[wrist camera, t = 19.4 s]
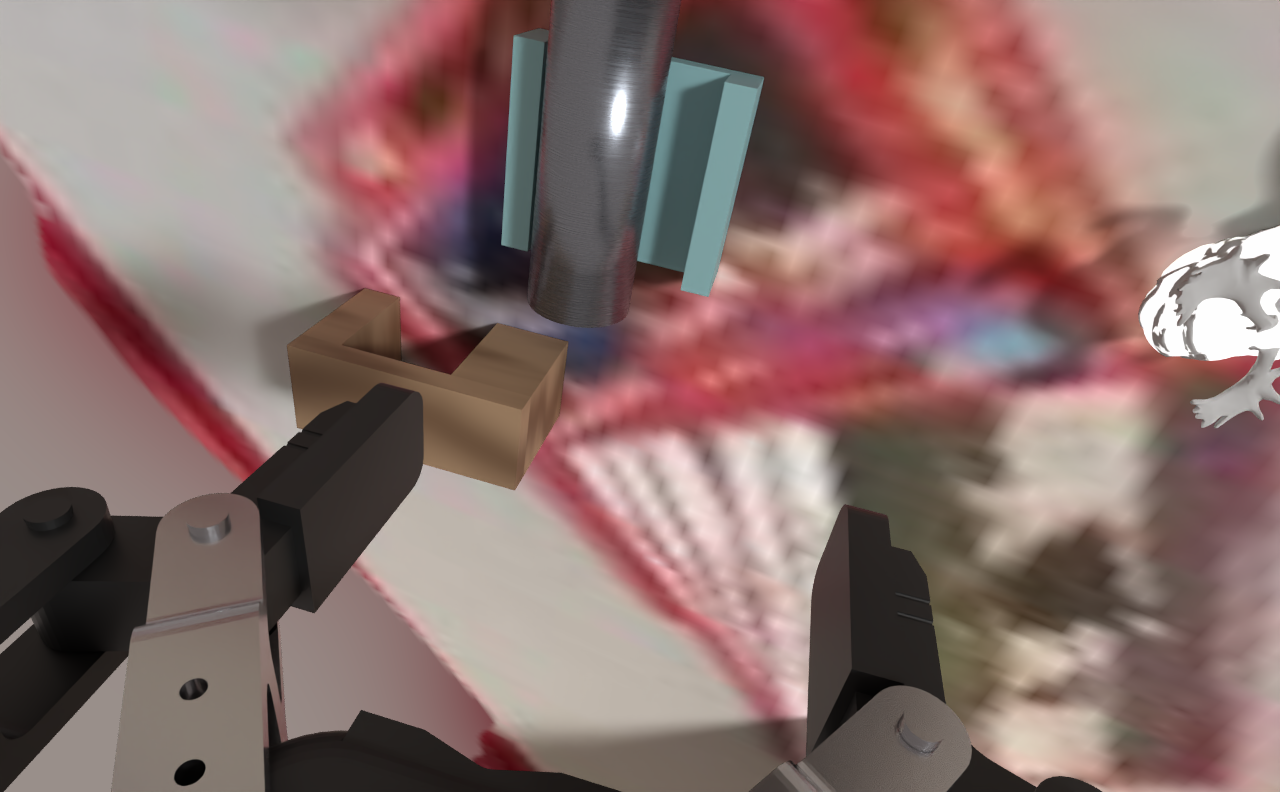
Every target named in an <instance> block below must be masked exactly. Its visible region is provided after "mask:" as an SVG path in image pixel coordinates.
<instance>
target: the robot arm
mask: <svg viewBox="0 0 1280 792" xmlns="http://www.w3.org/2000/svg"><path fill="white" fill-rule="evenodd" d="M423 460H424V432H423V399H422V396H421V394H420V393H419V392H416V391H413V390H409V389H405V388H401V387H397V386H393V385H390V384H386V383H378V384H377V385H375V386H374V387H373V388H372V389H371V390H370V391H369V392H368V393H367V394H366V395H365V396H363V397H362V398H361V399H360V400H359V401H358V402H357V403H354V402H350V401H345V402H343V403H341V404H339V405H336V406H334V407H332V408H330V409H328V410H325V411H323V412H321V413H320V414H319V415H317V416H316V417H315V418H314V419H313V420H312V421H311V422H310V423H309V424H307V425H306V426H305V427H304V428H303V430H302V432H301V433H300V432H298V433H297V434H296V435H295V436H294V437H293V438H292V439H291V440H290V441H288V444H287V446H283V447H282V448H281V449H279V450H278V451H277V452H276V453H275V454H274V455H273V456H272V457H271V458H269V459H268V460H267V461H266V462H265V463H264V464H263V465H262V466H261V467H259V468H258V469H257V470H256V471H255V472H254V473H253V474H252V475H250V476H249V477H248V478H247V479H246V480H245V481H244V482H243V483H242V484H240V485H239V486H238V487H237V488H236V489H235V490H234V491H233V492H232V493H216V494H215V493H214V494H208V495H202V496H199V497H195V498H192V499H190V500H187V501H185V502H183V503H181V504H179V505H177V506H176V507H174V508H173V509H171V510H170V511H169V512H168V513H167V514H166V515H165V516H164V517H145V516H143V517H142V516H110V513H109V510H108V507H107V504H106V501H105V499H104V498H103V497H102V496H101V495H100V494H99V493H97V492H95V491H93V490H90V489H85V488H79V487H66V488H56V489H51V490H46V491H42V492H39V493H36V494H33V495H30V496H28V497H25V498H23V499H21V500H19V501H17V502H15V503H14V504H12V505H11V506H9V507H8V508H6V509H5V510H3V511H2V512H1V513H0V644H2V643H3V642H4V641H5V640H6V639H7V638H8V637H9V636H10V635H11V634H13V633H14V632H15V631H16V630H17V629H18V628H19V627H20V626H21V625H23V624H24V623H25V622H26V621H27V620H28V619H29V618H32V621H33V623H34V624H33V625H32V626H31V627H30V628H29V629H28V630H27V631H25V632H24V633H23V634H22V635H21V636H20V637H19V638H18V639H17V640H16V641H14V642H13V643H12V644H11V645H10V646H9V647H8V648H7V649H6V650H5V651H3V652H2V653H1V654H0V792H4V791H5V790H6V789H7V787H8V786H9V785H10V784H11V783H12V782H13V781H14V780H15V779H16V778H17V776H18V775H19V774H20V773H21V772H22V771H23V770H24V769H25V768H26V767H27V766H28V765H29V763H30V762H31V761H32V760H33V759H34V758H35V757H36V756H37V755H38V754H39V753H40V751H41V750H42V749H43V748H44V747H45V746H46V745H47V744H48V743H49V742H50V740H51V739H52V738H53V737H54V736H55V735H56V734H57V733H58V732H59V731H60V730H61V729H62V727H63V726H64V725H65V724H66V723H67V722H68V721H69V720H70V719H71V718H72V717H73V715H74V714H75V713H76V712H77V711H78V710H79V709H80V708H81V707H82V706H83V704H84V703H85V702H86V701H87V700H88V699H89V698H90V697H91V696H92V695H93V694H94V693H95V691H96V690H97V689H98V688H99V687H100V686H101V685H102V684H103V683H104V682H105V681H106V679H107V678H108V677H109V676H110V675H111V674H112V673H113V672H114V671H115V670H116V668H117V667H118V666H119V665H120V664H121V663H122V662H123V661H124V660H125V659H126V658H127V657H128V663H127V671H126V679H125V686H124V694H123V702H122V710H121V718H120V726H119V734H118V742H117V749H116V757H115V765H114V772H113V780H112V788H111V792H621V791H618V790H615V789H611V788H608V787H605V786H602V785H599V784H595V783H592V782H589V781H586V780H583V779H579V778H576V777H573V776H570V775H567V774H564V773H554V772H532V771H511V770H492V769H486V768H483V767H481V766H479V765H477V764H476V763H474V762H473V761H471V760H470V759H468V758H467V757H465V756H464V755H462V754H461V753H459V752H458V751H456V750H454V749H453V748H451V747H450V746H448V745H447V744H445V743H444V742H442V741H441V740H439V739H438V738H436V737H435V736H433V735H432V734H430V733H429V732H427V731H426V730H423V729H420V728H416V727H414V726H410V725H407V724H404V723H400V722H398V721H395V720H391V719H388V718H385V717H382V716H378V715H375V714H372V713H368V712H366V711H363V710H361V711H360V713H359V714H358V716H357V717H356V719H355V721H354V722H353V724H352V725H351V727H350V729H349V730H348V731H330V732H320V733H314V734H309V735H304V736H301V737H297V738H294V739H291V740H288V736H287V726H286V715H285V699H284V683H283V667H282V650H281V635H280V625H279V619H280V618H281V617H282V616H283V614H284V613H285V612H286V611H287V610H288V609H289V607H290V606H292V607H296V608H299V609H302V610H306V611H309V612H312V613H315V612H316V611H317V610H318V608H319V607H320V606H321V604H322V603H323V602H324V601H325V599H326V598H327V597H328V595H329V594H330V593H331V592H332V590H333V589H334V588H335V587H336V585H337V584H338V583H339V582H340V580H341V579H342V578H343V576H344V575H345V574H346V573H347V571H348V570H349V569H350V568H351V566H352V565H353V564H354V562H355V561H356V560H357V559H358V557H359V556H360V555H361V554H362V552H363V551H364V550H365V549H366V547H367V546H368V545H369V543H370V542H371V541H372V540H373V538H374V537H375V536H376V535H377V533H378V532H379V531H380V529H381V528H382V527H383V526H384V524H385V523H386V522H387V521H388V519H389V518H390V517H391V515H392V514H393V513H394V512H395V510H396V509H397V508H398V507H399V505H400V504H401V503H402V501H403V500H404V499H405V498H406V496H407V495H408V494H409V493H410V491H411V490H412V489H413V487H414V486H415V484H416V482H417V480H418V478H419V476H420V473H421V470H422V466H423ZM929 603H930V596H929V589H928V583H927V576H926V574H925V573H924V571H923V570H922V568H921V566H920V565H919V563H918V562H917V560H916V558H915V557H914V555H913V554H912V552H911V551H907V550H904V549H900V548H896V547H892V546H891V540H890V530H889V521H888V517H887V515H884V514H880V513H876V512H873V511H869V510H865V509H861V508H857V507H853V506H850V505H846V504H845V505H844V506H843V507H842V508H841V510H840V512H839V515H838V517H837V520H836V522H835V525H834V527H833V530H832V532H831V535H830V537H829V540H828V542H827V545H826V547H825V550H824V552H823V555H822V557H821V560H820V563H819V565H818V568H817V572H816V575H815V579H814V584H813V590H812V599H811V626H810V656H809V685H808V714H807V743H806V758H805V759H803V760H802V761H801V762H799V763H798V764H796V765H795V764H794V763H793V762H792V761H787V762H785V763H783V764H781V765H780V766H778V767H777V768H776V769H775V770H773V771H772V772H771V773H770V774H769V775H768V776H766V777H765V778H764V779H763V780H762V781H761V782H759V783H758V784H757V785H756V786H755V787H754V788H753V789H751V790H750V791H749V792H1102V791H1100V790H1099V789H1097V788H1095V787H1094V786H1092V785H1090V784H1088V783H1086V782H1083V781H1081V780H1078V779H1074V778H1071V777H1063V776H1058V777H1051V778H1048V779H1046V780H1044V781H1043V782H1041V783H1040V784H1039V786H1038V787H1035V786H1033V785H1032V784H1030V783H1028V782H1027V781H1025V780H1023V779H1021V778H1020V777H1018V776H1016V775H1015V774H1013V773H1011V772H1009V771H1008V770H1006V769H1004V768H1003V767H1001V766H999V765H997V764H996V763H994V762H993V761H991V760H990V759H988V758H986V757H985V756H984V755H983V754H981V753H980V752H979V751H978V750H976V749H975V748H974V747H973V746H972V745H971V742H970V738H969V735H968V733H967V731H966V729H965V727H964V725H963V723H962V722H961V720H960V719H959V718H958V716H957V715H956V714H955V713H954V712H953V711H952V710H951V709H950V708H949V707H948V706H947V705H946V702H945V697H944V690H943V683H942V676H941V670H940V663H939V656H938V650H937V643H936V636H935V630H934V626H932V623H933V616H932V609H931V605H929Z"/></svg>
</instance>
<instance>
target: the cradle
mask: <svg viewBox="0 0 1280 792" xmlns="http://www.w3.org/2000/svg"><path fill="white" fill-rule="evenodd" d="M548 36H549V30H545V29H541V28H538V29H535V30H531V31H528V32H524V33H521V34H517V35H514V39H513V56H512V73H511V89H510V106H509V123H508V140H507V157H506V174H505V191H504V208H503V225H502V242H501V245H504V246H508V247H512V248H516V249H520V250H524V251H528V250H529V249H531V244H532V232H533V220H534V208H535V195H536V183H537V171H538V158H539V146H540V134H541V122H542V109H543V97H544V85H545V72H546V60H547V48H548ZM763 80H764V77H761V76H757V75H752V74H748V73H743V72H738V71H734V70H729V69H725V68H720V67H715V66H711V65H706V64H702V63H697V62H692V61H688V60H683V59H679V58H674V57H672V58H671V64H670V70H669V76H668V82H667V88H666V94H665V100H664V106H663V111H662V117H661V123H660V129H659V135H658V141H657V147H656V153H655V159H654V165H653V170H652V176H651V182H650V188H649V194H648V200H647V206H646V212H645V218H644V224H643V230H642V235H641V241H640V247H639V253H638V259H637V261H640V262H644V263H648V264H652V265H656V266H660V267H664V268H668V269H672V270H676V271H680V272H684V276H683V281H682V286H681V290H683V291H687V292H691V293H695V294H699V295H703V296H707V297H708V296H709V294H710V291H711V288H712V286H713V283H714V280H715V277H716V275H717V272H718V268H719V264H720V260H721V255H722V251H723V247H724V243H725V239H726V235H727V230H728V226H729V222H730V218H731V214H732V210H733V205H734V201H735V197H736V193H737V189H738V185H739V180H740V176H741V172H742V168H743V164H744V160H745V155H746V151H747V147H748V143H749V139H750V135H751V130H752V126H753V122H754V118H755V114H756V110H757V105H758V101H759V97H760V93H761V89H762V85H763Z"/></svg>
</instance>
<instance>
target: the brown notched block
mask: <svg viewBox="0 0 1280 792" xmlns="http://www.w3.org/2000/svg"><path fill="white" fill-rule="evenodd" d="M567 348H568V342H567V341H563V340H560V339H556V338H552V337H548V336H544V335H541V334H537V333H533V332H529V331H525V330H522V329H518V328H514V327H510V326H506V325H503V324H499V323H497V324H496V325H495V326H494V328H493V329H492V330H491V331H490V332H489V333H488V334H487V335H486V336H485V338H484V339H483V340H482V341H481V342H480V343H479V344H478V345H477V346H476V348H475V349H474V350H473V351H472V352H471V353H470V354H469V355H468V356H467V358H466V359H465V360H464V361H463V362H462V363H461V364H460V365H459V366H458V368H457V369H456V370H455V371H454V372H453V373H452V374H451V375H449V374H446V373H442V372H438V371H435V370H431V369H428V368H424V367H420V366H417V365H413V364H409V363H406V362H402V361H401V330H400V297H396V296H393V295H389V294H385V293H381V292H377V291H374V290H370V289H366V288H365V289H363V290H362V291H361V292H359V293H358V294H356V295H355V296H354V297H352V298H351V299H350V300H348V301H347V302H345V303H344V304H343V305H341V306H340V307H339V308H337V309H336V310H334V311H333V312H332V313H330V314H329V315H328V316H326V317H325V318H324V319H322V320H321V321H319V322H318V323H317V324H315V325H314V326H313V327H311V328H310V329H308V330H307V331H306V332H304V333H303V334H302V335H300V336H299V337H297V338H296V339H295V340H293V341H292V342H291V343H289V344H288V345H287V351H288V359H289V367H290V375H291V383H292V391H293V399H294V407H295V415H296V423H297V428H300V429H303V428H304V427H305V426H306V425H307V424H309V423H310V422H311V421H312V420H313V419H314V418H315V417H316V416H317V415H319V414H320V413H321V412H323V411H325V410H328V409H330V408H332V407H334V406H336V405H339V404H341V403H343V402H345V401H350V402H354V403H357V402H358V401H359V400H360V399H361V398H362V397H363V396H365V395H366V394H367V393H368V392H369V391H370V390H371V389H372V388H373V387H374V386H375V385H377V384H378V383H386V384H390V385H393V386H397V387H401V388H405V389H409V390H413V391H416V392H419V393H420V394H421V396H422V399H423V432H424V460H423V464H425V465H429V466H432V467H436V468H439V469H442V470H446V471H449V472H453V473H456V474H460V475H463V476H467V477H470V478H474V479H477V480H481V481H484V482H488V483H491V484H495V485H498V486H502V487H505V488H508V489H512V490H515V489H516V488H517V486H518V484H519V482H520V481H521V479H522V477H523V476H524V474H525V472H526V471H527V469H528V467H529V466H530V464H531V462H532V461H533V459H534V457H535V456H536V454H537V452H538V450H539V449H540V447H541V445H542V444H543V442H544V440H545V439H546V437H547V435H548V434H549V432H550V430H551V429H552V427H553V425H554V424H555V422H556V420H557V418H558V417H559V413H560V405H561V397H562V389H563V381H564V373H565V365H566V357H567Z"/></svg>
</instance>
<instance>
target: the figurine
mask: <svg viewBox="0 0 1280 792" xmlns="http://www.w3.org/2000/svg"><path fill="white" fill-rule="evenodd" d="M1138 315H1139V323H1140V325H1141V327H1142V328H1143V329H1144V334H1145V336H1146V338H1147V340H1148V342H1149V343H1150V344H1151V345H1152V347H1153V348H1154V349H1156V350H1157V351H1158V352H1159V353H1160V354H1161V355H1163V356H1166V357H1170V356H1181V357H1182V358H1187V359H1196V360H1204V361H1207V360H1210V361H1212V360H1221V359H1226V358H1229V357H1233V356H1244V355H1253V356H1258V357H1257V360H1256V362H1255V364H1254V365H1253V367H1252V368H1251V369H1250V371H1249V372H1248V373H1247V375H1246V376H1245V377H1243V378H1242V379H1241V380H1240V381H1239V382H1237V383H1236V384H1234V385H1233V386H1232V387H1230V388H1228V389H1227V390H1225V391H1224V392H1222V393H1220V394H1219V395H1217V396H1216V397H1213V398H1210V399H1206V400H1192V401H1191V402H1190V403H1191V404H1194V405H1197V406H1196V407H1195V408H1194V409H1193V412H1194V413H1196V415H1195V417H1196V418H1198V419H1202V424H1201V427H1206V426H1209V425H1210V424H1212V423H1214V422H1215V421H1216V420H1217V419H1218V418H1220V417H1221V416H1222V418H1221V419H1220V420H1219V421H1217V422H1216V423H1215V425H1214V428H1218V427H1220V426H1221V425H1222V424H1224V423H1225V422H1226V421H1228V420H1229V419H1230V418H1232V417H1234V416H1235V415H1237V414H1239V413H1241V412H1243V411H1251V412H1252V413H1253V414H1254V415H1255V416H1256V417H1257V418H1258V419H1260V420H1263V419H1264V418H1263V415H1262V413H1261V411H1260V409H1259V404H1258V402H1259V401H1261V400H1262V399H1265V400H1270V401H1273V402H1275V403H1277V404H1280V395H1279V394H1278V393H1277V392H1275V390H1274V389H1273V387H1272V385H1271V384H1272V382H1273V381H1274V379H1275V378H1277V377H1279V376H1280V368H1277V369H1273V370H1270V369H1271V367H1272V364H1273V362H1274V360H1278V359H1280V225H1278V226H1276V227H1274V228H1269V229H1264V230H1261V231H1258V232H1256V233H1253V234H1250V235H1247V236H1243V237H1234V238H1229V239H1224V240H1221V241H1219V242H1217V243H1214V244H1208V245H1203V246H1200V247H1198V248H1196V249H1194V250H1192V251H1190V252H1188V253H1186V254H1184V255H1183V256H1181V257H1180V258H1178V259H1177V260H1176V261H1175V262H1173V263H1172V264H1171V265H1170V266H1169V267H1168V268H1167V269H1166V270H1165V271H1164V272H1163V274H1162V276H1161V278H1159V279H1158V280H1157V285H1156V286H1155V287H1154V288H1153V289H1152V290H1151V291H1150V292H1149V293H1148V294H1147V295H1146V298H1145V299H1144V300H1143V301H1142V304H1141V306H1140V309H1139V313H1138Z"/></svg>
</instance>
